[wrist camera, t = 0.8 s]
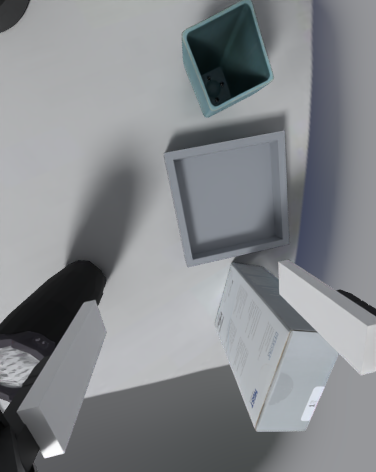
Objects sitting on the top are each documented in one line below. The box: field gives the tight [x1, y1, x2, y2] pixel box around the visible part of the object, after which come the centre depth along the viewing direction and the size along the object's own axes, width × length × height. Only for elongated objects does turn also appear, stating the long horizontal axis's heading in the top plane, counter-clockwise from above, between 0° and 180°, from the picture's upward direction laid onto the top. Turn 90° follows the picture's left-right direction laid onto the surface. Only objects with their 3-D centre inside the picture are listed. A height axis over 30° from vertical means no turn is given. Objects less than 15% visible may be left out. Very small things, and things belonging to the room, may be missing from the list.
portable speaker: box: [0, 260, 106, 403], centre depth 29 cm, size 9×9×20 cm
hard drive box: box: [215, 262, 339, 432], centre depth 34 cm, size 16×8×20 cm, turn 169°
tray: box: [164, 130, 289, 267], centre depth 36 cm, size 19×19×4 cm
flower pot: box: [182, 0, 274, 117], centre depth 28 cm, size 9×9×9 cm
